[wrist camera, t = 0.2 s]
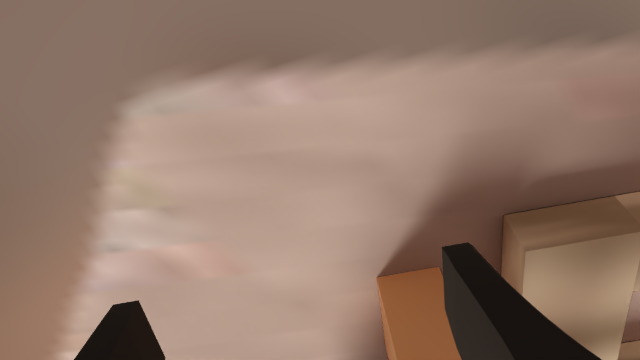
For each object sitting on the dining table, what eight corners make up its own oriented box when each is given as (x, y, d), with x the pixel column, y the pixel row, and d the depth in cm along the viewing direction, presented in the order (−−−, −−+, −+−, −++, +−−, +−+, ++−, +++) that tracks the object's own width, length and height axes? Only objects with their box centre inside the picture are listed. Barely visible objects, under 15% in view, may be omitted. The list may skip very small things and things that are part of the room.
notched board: (682, 370, 33) (710, 408, 31) (495, 402, 33) (511, 442, 31) (747, 172, 25) (791, 205, 23) (503, 215, 25) (525, 251, 23)
